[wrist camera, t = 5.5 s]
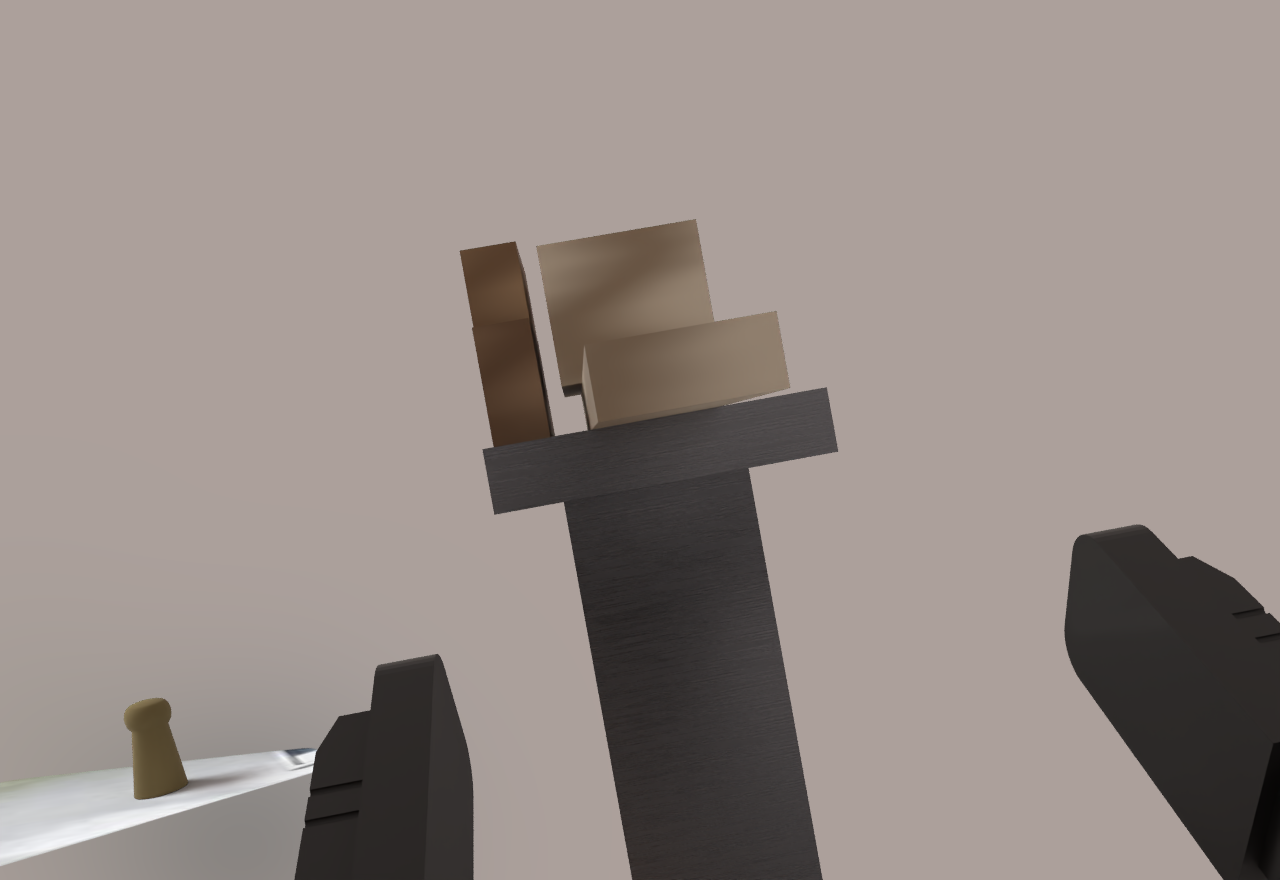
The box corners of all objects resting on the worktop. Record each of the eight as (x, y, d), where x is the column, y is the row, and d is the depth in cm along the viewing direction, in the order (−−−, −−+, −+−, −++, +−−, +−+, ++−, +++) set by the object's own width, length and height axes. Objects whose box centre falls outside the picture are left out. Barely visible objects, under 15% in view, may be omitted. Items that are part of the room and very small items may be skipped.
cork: (123, 801, 126) (106, 711, 126) (154, 783, 132) (139, 697, 132) (168, 796, 125) (151, 704, 125) (198, 778, 131) (182, 690, 131)
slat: (565, 428, 16) (510, 123, 16) (571, 436, 32) (544, 283, 32) (822, 382, 16) (768, 80, 16) (701, 412, 32) (673, 260, 32)
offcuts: (493, 448, 26) (457, 247, 26) (509, 447, 32) (479, 284, 32) (550, 437, 26) (514, 237, 26) (555, 439, 32) (526, 276, 32)
